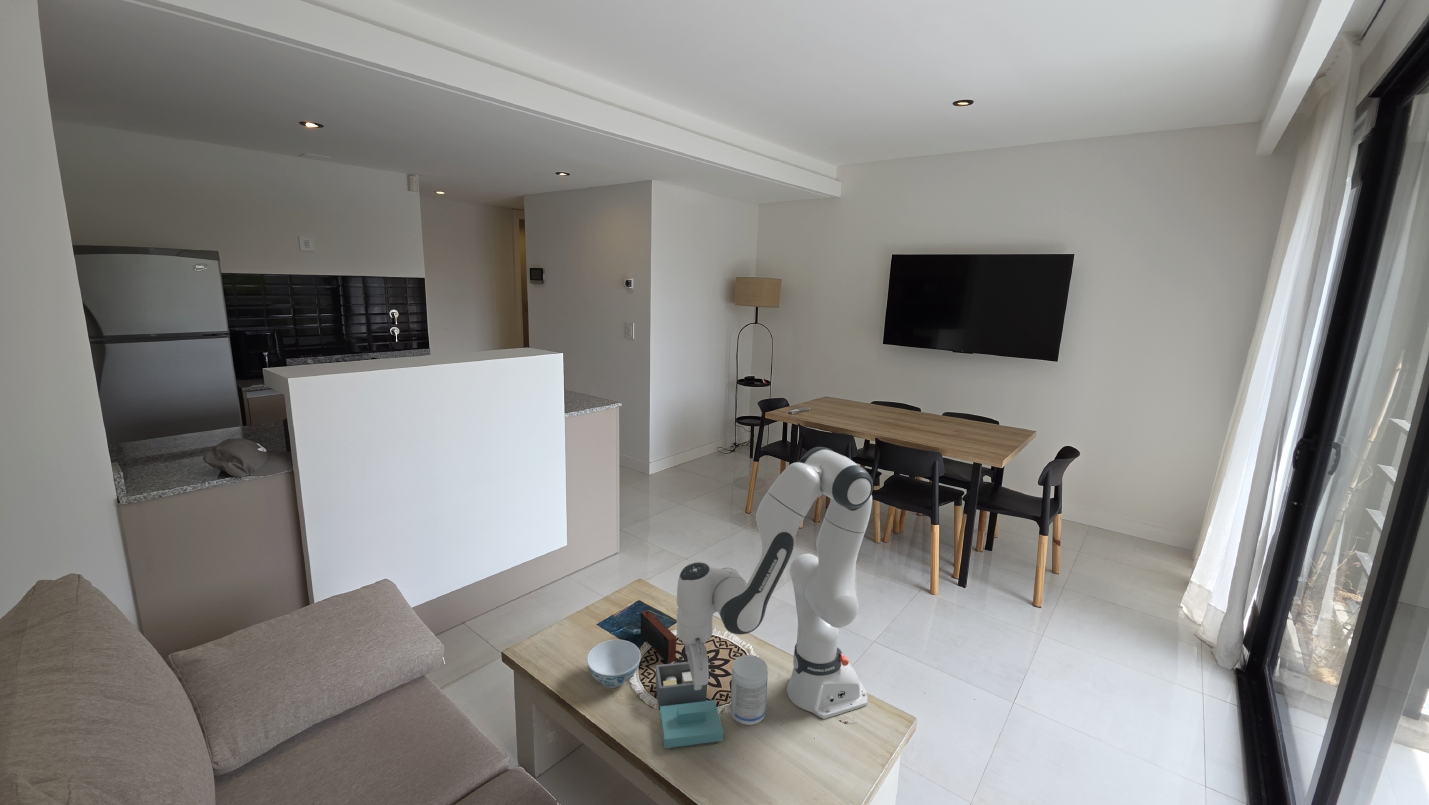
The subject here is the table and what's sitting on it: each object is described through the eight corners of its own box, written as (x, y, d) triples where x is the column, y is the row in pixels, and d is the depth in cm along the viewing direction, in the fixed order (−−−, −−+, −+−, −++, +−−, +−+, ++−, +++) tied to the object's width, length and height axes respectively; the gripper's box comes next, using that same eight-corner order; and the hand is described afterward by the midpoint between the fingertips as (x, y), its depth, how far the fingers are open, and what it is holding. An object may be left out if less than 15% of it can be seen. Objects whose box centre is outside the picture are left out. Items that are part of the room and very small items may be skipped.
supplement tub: (772, 717, 152) (776, 671, 149) (743, 732, 147) (746, 684, 143) (750, 694, 160) (753, 649, 156) (722, 707, 155) (725, 661, 151)
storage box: (700, 681, 164) (701, 660, 162) (706, 704, 156) (707, 683, 154) (655, 686, 162) (655, 665, 160) (658, 710, 153) (659, 688, 151)
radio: (639, 635, 183) (639, 594, 179) (647, 632, 185) (648, 591, 181) (670, 669, 169) (671, 625, 165) (679, 665, 171) (680, 621, 167)
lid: (714, 708, 154) (715, 690, 153) (722, 740, 144) (723, 722, 142) (659, 715, 151) (660, 697, 150) (664, 748, 141) (665, 729, 139)
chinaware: (612, 707, 153) (612, 683, 151) (576, 682, 162) (575, 658, 160) (651, 677, 165) (651, 654, 163) (615, 654, 174) (615, 632, 172)
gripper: (715, 653, 131) (714, 703, 134) (700, 601, 150) (699, 646, 154) (688, 657, 130) (688, 707, 133) (676, 604, 149) (676, 649, 152)
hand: (694, 674), depth 143 cm, fingers open, 8 cm apart
